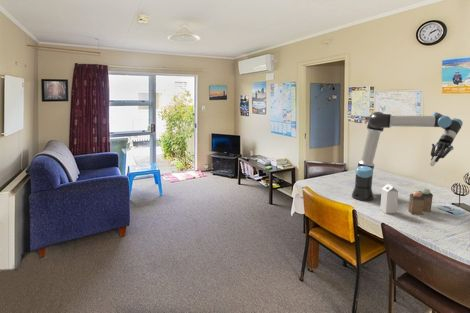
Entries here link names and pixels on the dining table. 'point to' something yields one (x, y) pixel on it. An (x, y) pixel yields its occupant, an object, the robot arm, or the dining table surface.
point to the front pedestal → (416, 205)
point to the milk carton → (389, 199)
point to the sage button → (425, 191)
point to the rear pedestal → (427, 202)
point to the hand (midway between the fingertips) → (431, 164)
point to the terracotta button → (417, 194)
